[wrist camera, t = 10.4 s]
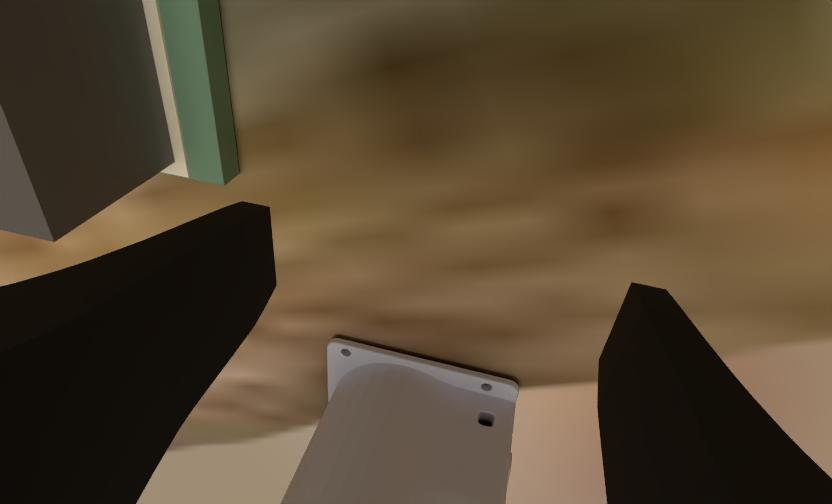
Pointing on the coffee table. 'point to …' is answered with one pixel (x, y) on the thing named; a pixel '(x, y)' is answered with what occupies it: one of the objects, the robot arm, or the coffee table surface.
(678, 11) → the coffee table surface
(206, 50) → the green and cream box
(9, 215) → the block
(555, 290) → the coffee table surface
